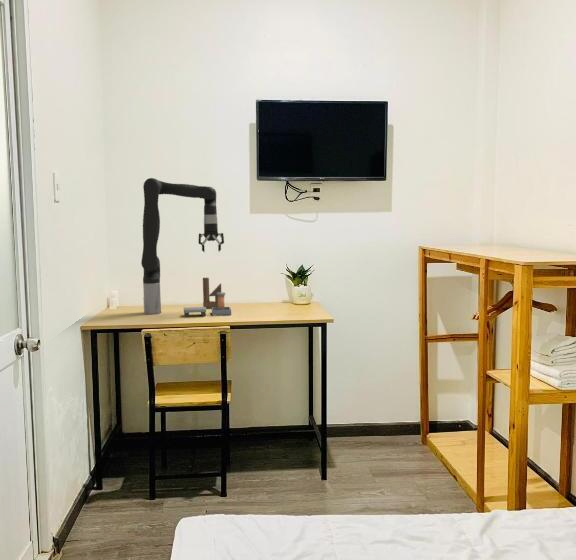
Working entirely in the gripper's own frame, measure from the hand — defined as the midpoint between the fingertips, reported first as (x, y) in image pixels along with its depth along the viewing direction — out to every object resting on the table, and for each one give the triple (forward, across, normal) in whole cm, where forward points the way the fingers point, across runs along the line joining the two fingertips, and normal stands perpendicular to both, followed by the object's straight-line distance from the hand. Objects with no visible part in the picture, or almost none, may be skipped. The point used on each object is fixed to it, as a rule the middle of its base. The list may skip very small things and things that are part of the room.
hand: (211, 251), depth 331 cm
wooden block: (+34, 0, +12) cm, 36 cm away
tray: (+34, +4, -10) cm, 36 cm away
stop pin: (+34, +4, -10) cm, 35 cm away
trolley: (+34, -10, -12) cm, 38 cm away
